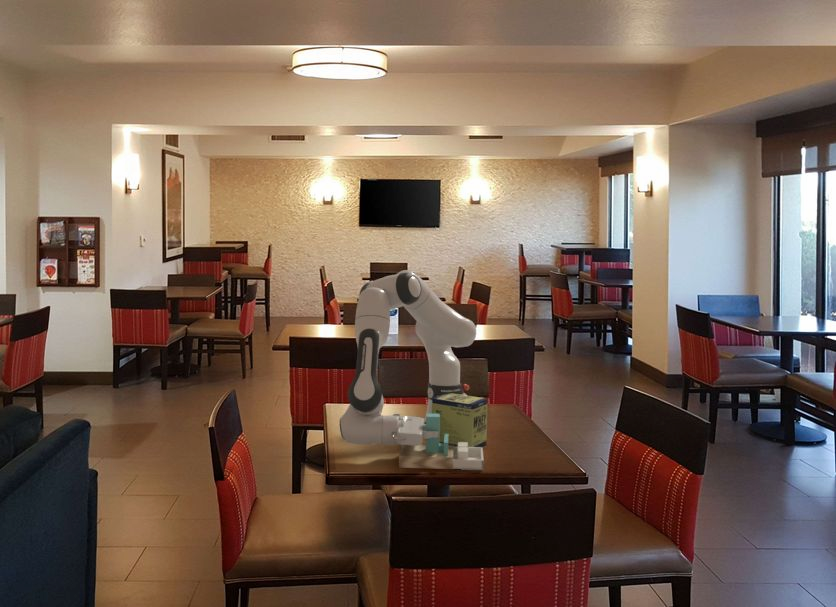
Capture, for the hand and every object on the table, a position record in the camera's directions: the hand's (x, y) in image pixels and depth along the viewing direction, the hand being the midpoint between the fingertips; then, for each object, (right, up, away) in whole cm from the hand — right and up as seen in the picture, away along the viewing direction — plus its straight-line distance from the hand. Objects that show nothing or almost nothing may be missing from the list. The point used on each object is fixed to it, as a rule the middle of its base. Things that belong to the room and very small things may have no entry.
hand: (438, 431), depth 254 cm
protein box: (+7, -8, +21) cm, 23 cm away
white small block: (+6, -7, -2) cm, 9 cm away
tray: (+9, -10, +1) cm, 13 cm away
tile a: (+6, -6, +3) cm, 9 cm away
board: (-4, -9, +1) cm, 10 cm away
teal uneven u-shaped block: (-1, -6, +1) cm, 6 cm away
